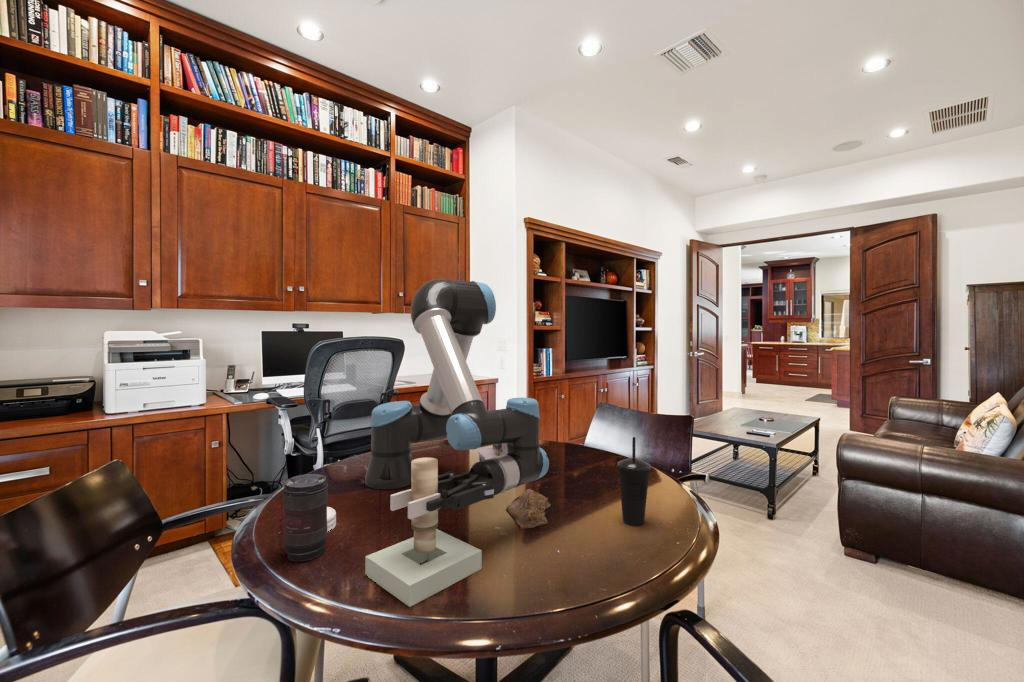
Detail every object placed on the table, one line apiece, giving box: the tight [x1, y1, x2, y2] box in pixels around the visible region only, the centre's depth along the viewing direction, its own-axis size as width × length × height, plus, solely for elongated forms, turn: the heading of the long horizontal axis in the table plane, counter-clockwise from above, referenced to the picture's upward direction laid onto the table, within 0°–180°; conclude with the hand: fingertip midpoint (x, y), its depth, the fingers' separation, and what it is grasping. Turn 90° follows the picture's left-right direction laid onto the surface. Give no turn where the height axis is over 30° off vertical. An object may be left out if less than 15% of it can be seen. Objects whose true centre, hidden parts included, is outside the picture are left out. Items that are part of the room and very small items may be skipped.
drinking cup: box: [616, 436, 652, 527], centre depth 105 cm, size 8×8×20 cm
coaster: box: [327, 506, 337, 533], centre depth 101 cm, size 10×10×4 cm
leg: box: [410, 456, 439, 552], centre depth 82 cm, size 5×5×16 cm
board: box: [364, 528, 483, 608], centre depth 82 cm, size 14×16×4 cm
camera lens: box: [282, 473, 329, 562], centre depth 89 cm, size 8×8×15 cm
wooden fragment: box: [505, 488, 552, 530], centre depth 114 cm, size 26×11×1 cm, turn 172°
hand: (400, 506), depth 78 cm, fingers closed on leg, 5 cm apart
